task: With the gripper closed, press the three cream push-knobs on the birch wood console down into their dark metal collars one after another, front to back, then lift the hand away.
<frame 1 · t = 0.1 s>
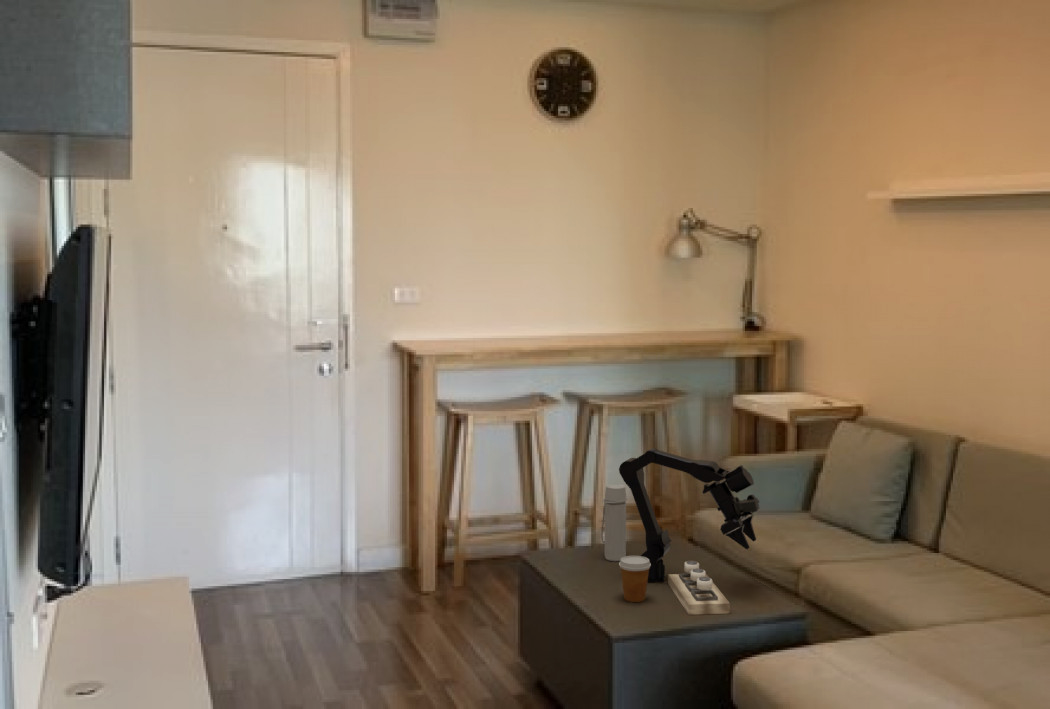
hand: (751, 544, 325), 15 cm above the table, tool tilted 30°, fingers open, 9 cm apart
front knob: (704, 583, 313), point 7 cm above the table, slide at 2.5 cm
water bottle: (612, 559, 362), on the table
middle knob: (697, 574, 321), point 7 cm above the table, slide at 2.5 cm
knob console: (697, 597, 322), on the table
disposable coffee cup: (634, 599, 321), on the table
back knob: (691, 566, 329), point 7 cm above the table, slide at 2.5 cm
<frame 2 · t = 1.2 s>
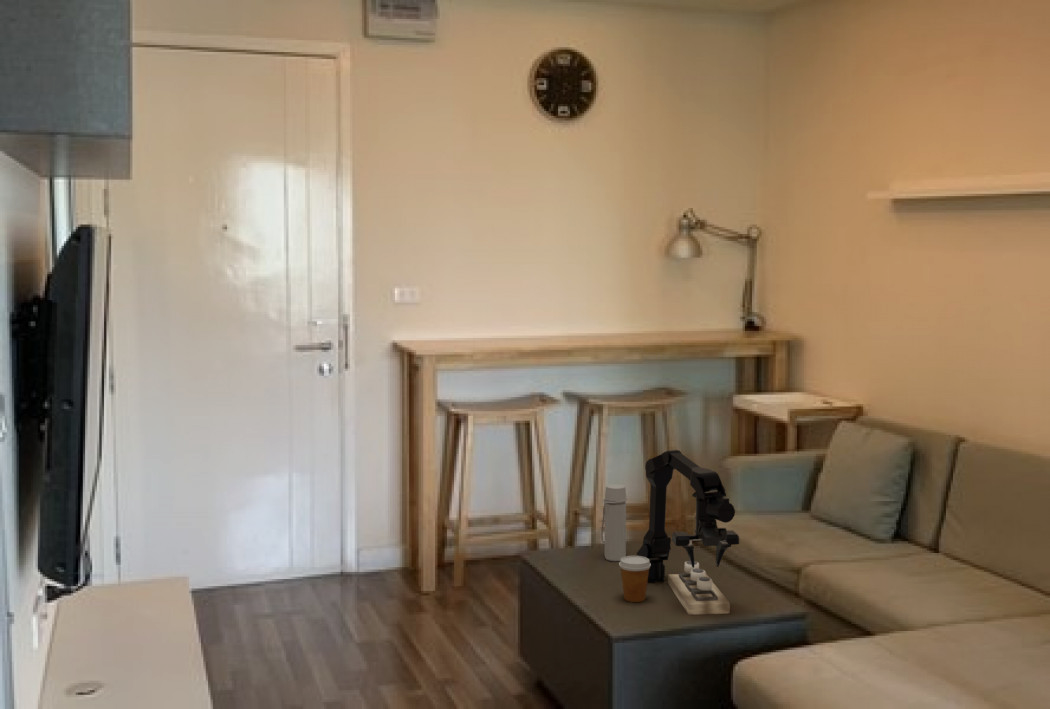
hand: (705, 566, 313), 12 cm above the table, tool pointing down, fingers open, 7 cm apart
nothing on the table moved.
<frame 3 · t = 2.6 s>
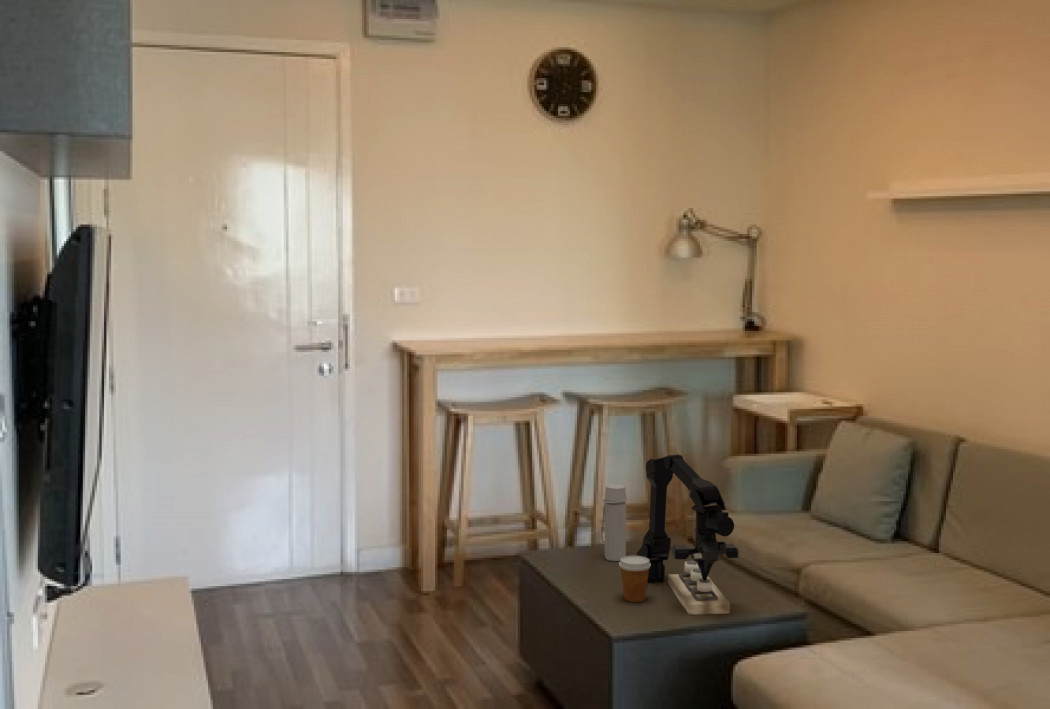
hand: (704, 580, 313), 8 cm above the table, tool pointing down, fingers closed, pressing on front knob
front knob: (704, 584, 313), point 7 cm above the table, slide at 2.0 cm, touching gripper
everything else where it was.
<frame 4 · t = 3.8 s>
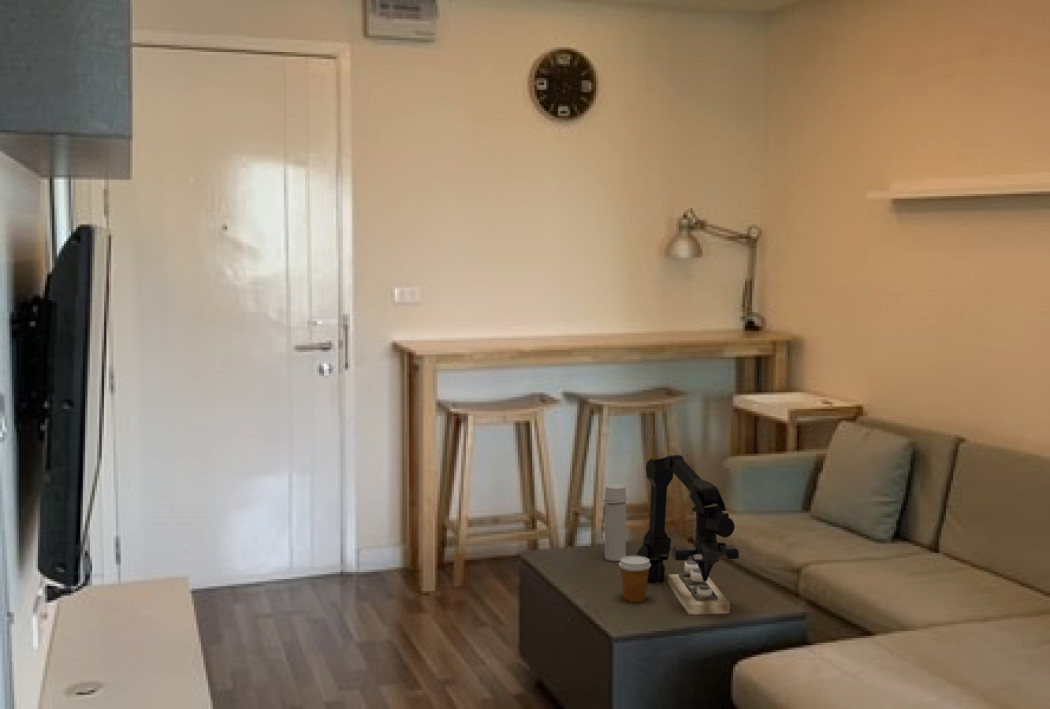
hand: (704, 581, 313), 8 cm above the table, tool pointing down, fingers closed
front knob: (704, 591, 313), point 5 cm above the table, slide at -0.1 cm
everything else where it was.
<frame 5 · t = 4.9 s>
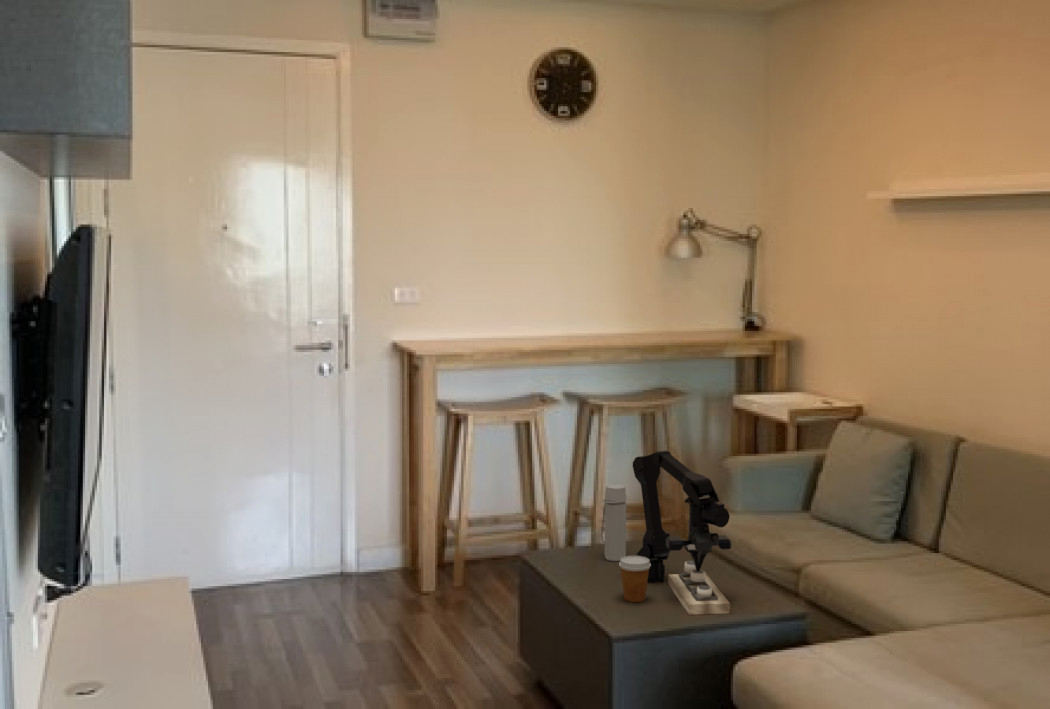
hand: (697, 570, 321), 8 cm above the table, tool pointing down, fingers closed, pressing on middle knob
middle knob: (697, 575, 321), point 7 cm above the table, slide at 2.3 cm, touching gripper
everything else where it was.
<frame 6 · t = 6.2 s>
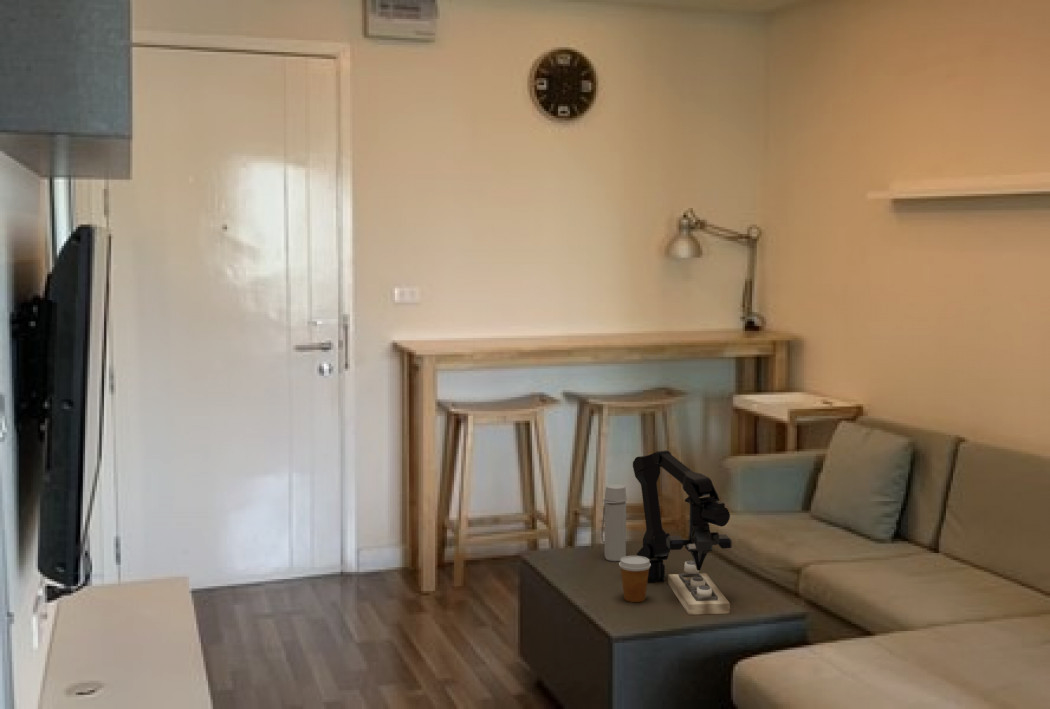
hand: (698, 570, 321), 9 cm above the table, tool pointing down, fingers closed
middle knob: (697, 583, 321), point 5 cm above the table, slide at -0.1 cm
everything else where it was.
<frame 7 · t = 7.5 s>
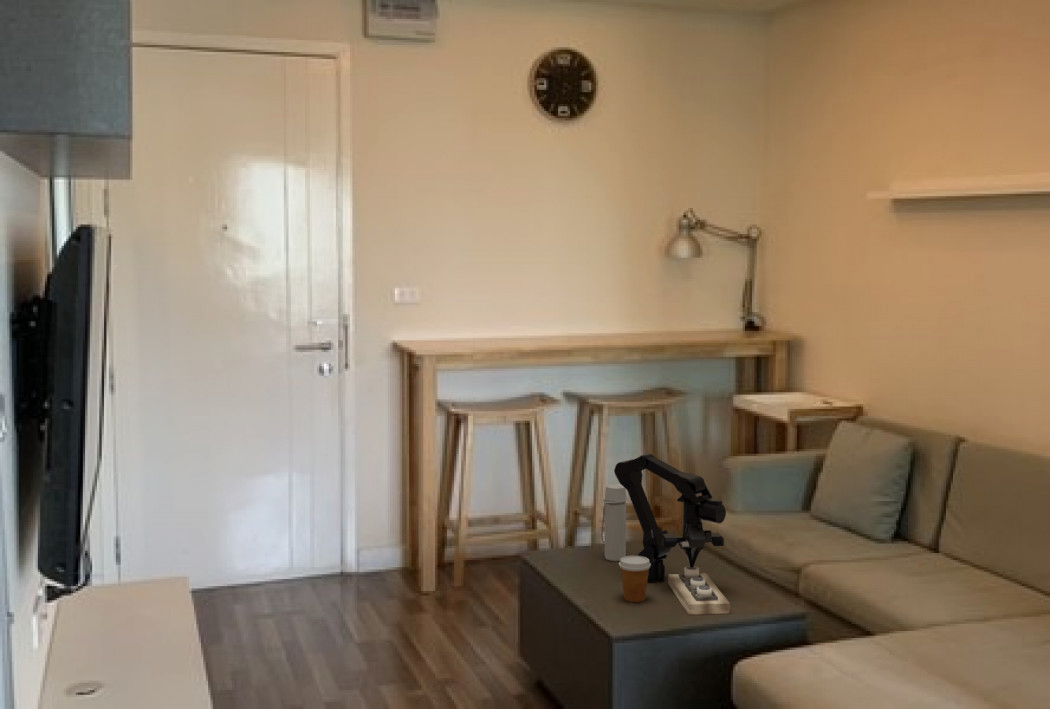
hand: (691, 567, 329), 7 cm above the table, tool pointing down, fingers closed, pressing on back knob
back knob: (691, 571, 329), point 6 cm above the table, slide at 0.9 cm, touching gripper
everything else where it was.
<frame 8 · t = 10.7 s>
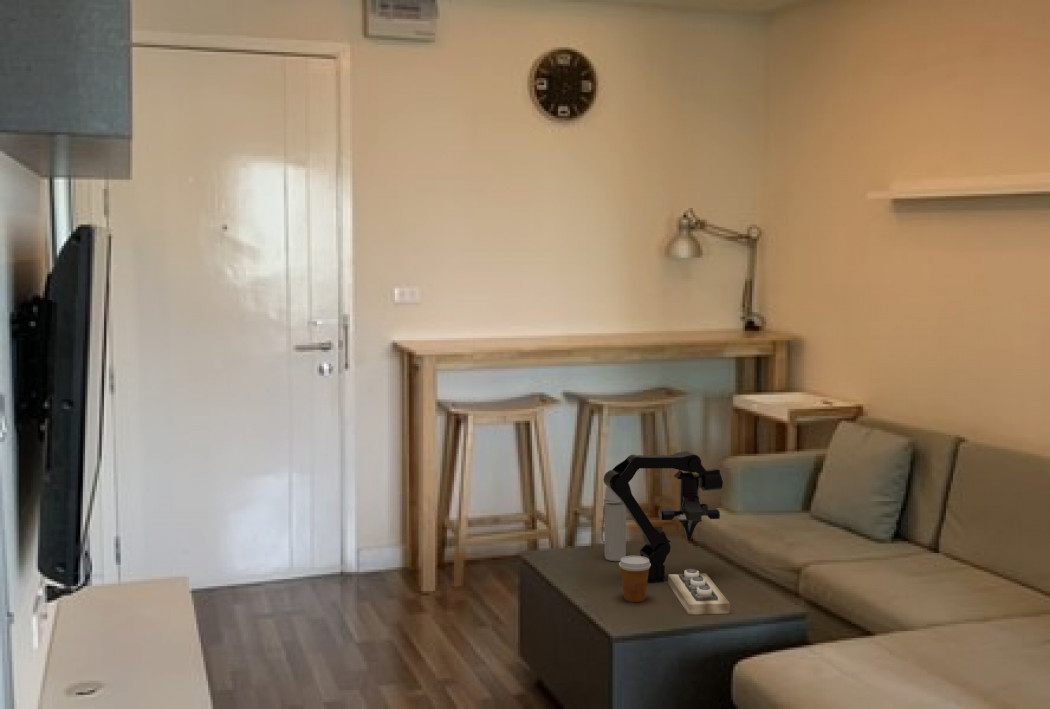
hand: (688, 539, 341), 12 cm above the table, tool pointing down, fingers closed
back knob: (691, 574, 329), point 5 cm above the table, slide at -0.1 cm
everything else where it was.
at the end: front knob slide at -0.1 cm; middle knob slide at -0.1 cm; back knob slide at -0.1 cm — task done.
